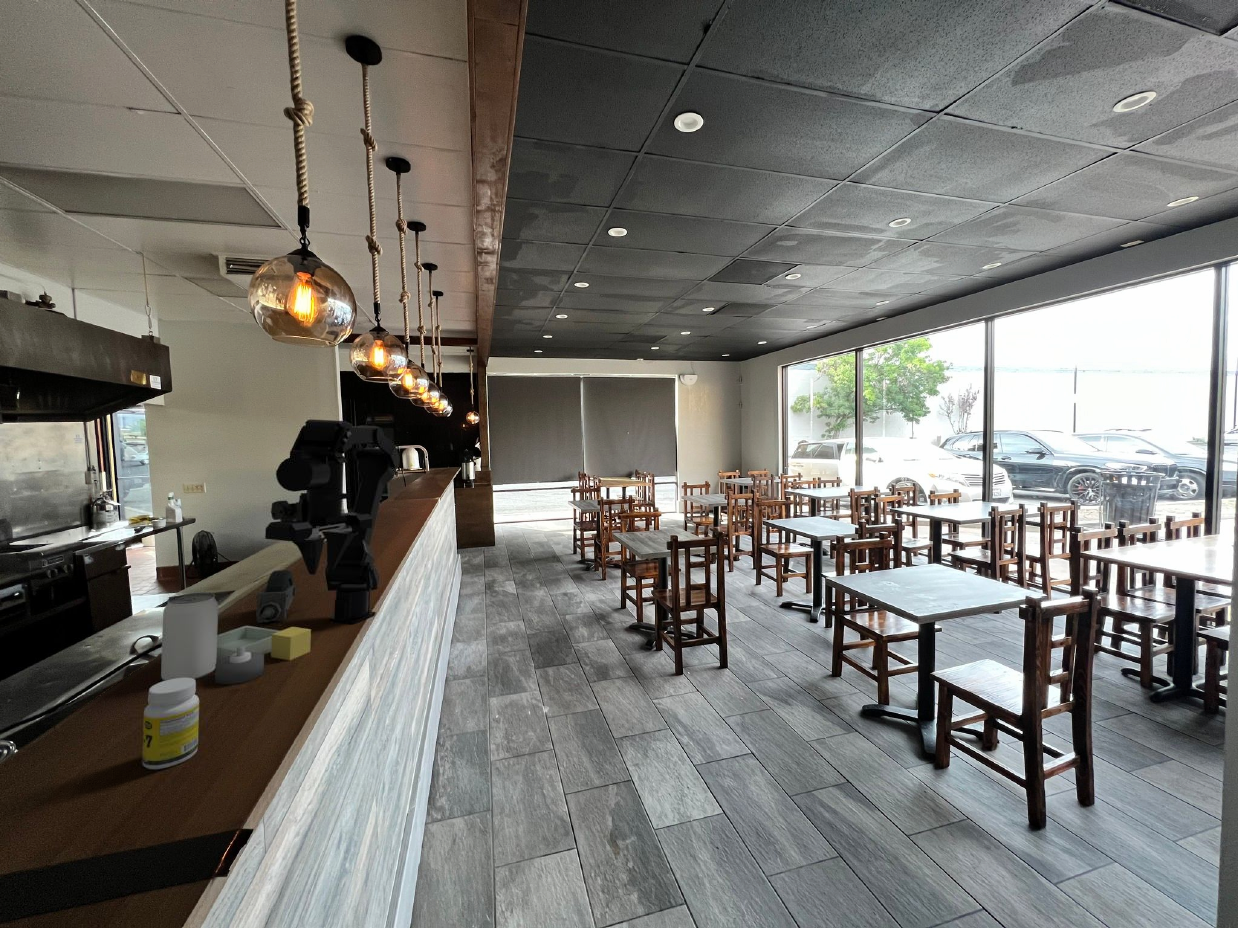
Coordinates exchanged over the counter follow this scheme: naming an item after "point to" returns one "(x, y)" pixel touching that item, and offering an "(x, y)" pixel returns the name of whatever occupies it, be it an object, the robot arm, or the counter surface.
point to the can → (189, 636)
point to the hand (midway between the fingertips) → (321, 571)
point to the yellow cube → (290, 643)
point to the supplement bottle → (170, 723)
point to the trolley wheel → (239, 667)
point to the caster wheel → (276, 597)
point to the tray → (244, 641)
